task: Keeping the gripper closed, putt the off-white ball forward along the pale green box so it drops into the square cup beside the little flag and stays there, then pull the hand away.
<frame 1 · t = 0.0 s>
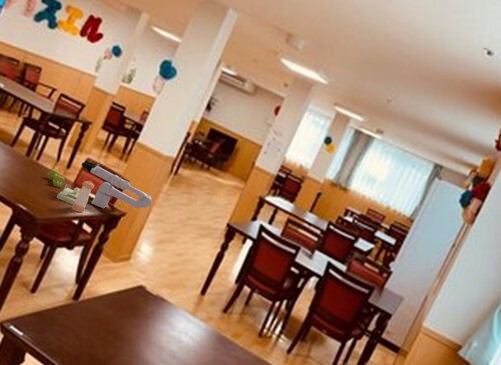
hand: (83, 163, 338), 22 cm above the table, tool horizontal, fingers open, 7 cm apart
pepper shaker: (77, 210, 311), on the table
pale green box: (71, 198, 328), on the table
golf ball: (76, 190, 334), point 4 cm above the table, touching pale green box
dumbbell: (53, 183, 345), on the table
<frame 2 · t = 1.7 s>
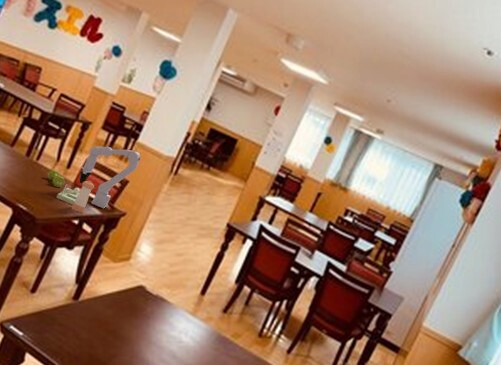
hand: (82, 182, 341), 9 cm above the table, tool pointing down, fingers open, 6 cm apart
nothing on the table moved.
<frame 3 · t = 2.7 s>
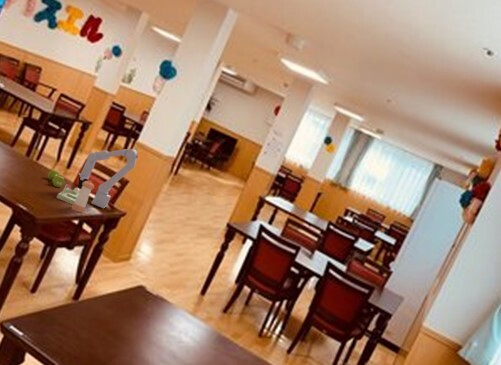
hand: (79, 188, 341), 5 cm above the table, tool pointing down, fingers closed
nothing on the table moved.
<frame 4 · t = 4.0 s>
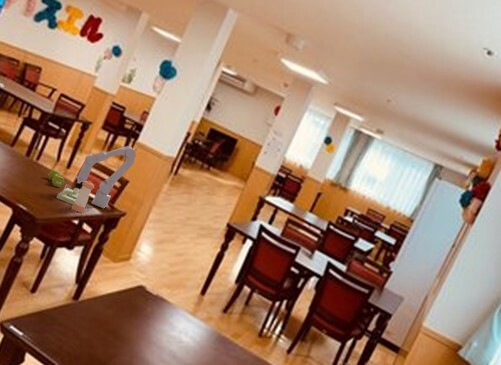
hand: (76, 191, 335), 4 cm above the table, tool pointing down, fingers closed, pressing on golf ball
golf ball: (76, 190, 333), point 4 cm above the table, tilted 15°, touching gripper, pale green box
everything else where it was.
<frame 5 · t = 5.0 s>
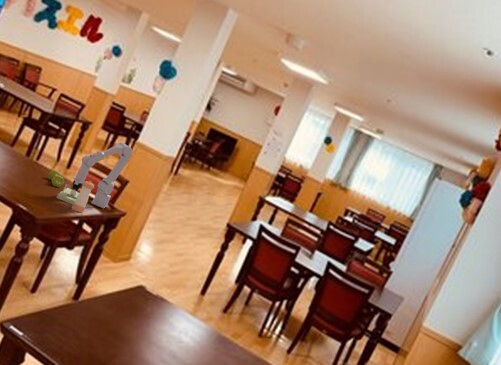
hand: (73, 193, 328), 4 cm above the table, tool pointing down, fingers closed, pressing on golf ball
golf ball: (73, 192, 326), point 4 cm above the table, tilted 136°, touching gripper, pale green box
everything else where it was.
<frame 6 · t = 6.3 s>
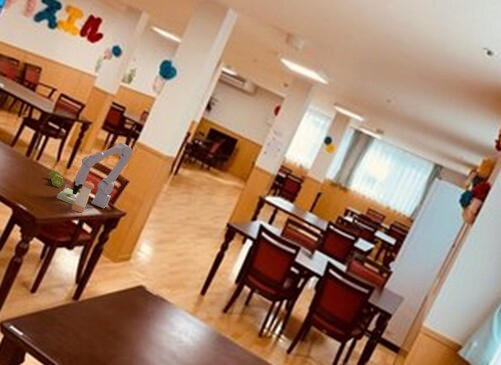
hand: (74, 193, 329), 3 cm above the table, tool pointing down, fingers closed
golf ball: (73, 197, 324), point 2 cm above the table, tilted 64°, touching pale green box
everything else where it was.
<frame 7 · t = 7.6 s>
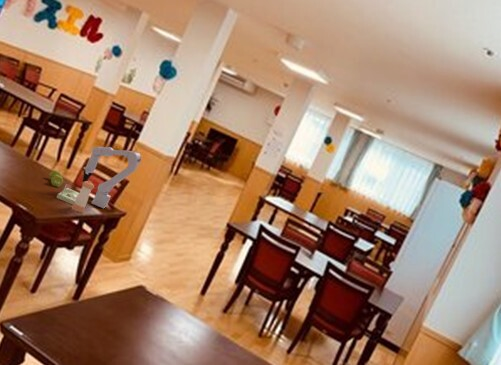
hand: (84, 182, 343), 9 cm above the table, tool pointing down, fingers closed
nothing on the table moved.
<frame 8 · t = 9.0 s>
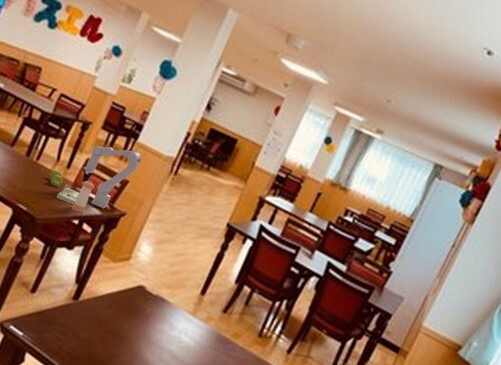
hand: (84, 182, 344), 9 cm above the table, tool pointing down, fingers closed
nothing on the table moved.
at the end: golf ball 0.9 cm from the target spot on the pale green box, point 2.2 cm above the pale green box's base; the gripper is holding nothing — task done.
